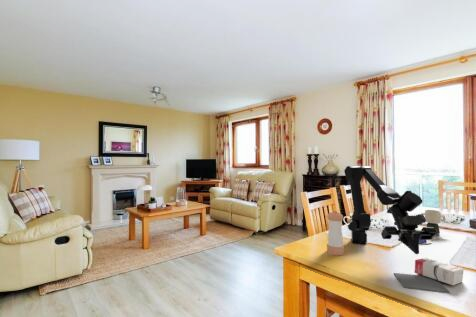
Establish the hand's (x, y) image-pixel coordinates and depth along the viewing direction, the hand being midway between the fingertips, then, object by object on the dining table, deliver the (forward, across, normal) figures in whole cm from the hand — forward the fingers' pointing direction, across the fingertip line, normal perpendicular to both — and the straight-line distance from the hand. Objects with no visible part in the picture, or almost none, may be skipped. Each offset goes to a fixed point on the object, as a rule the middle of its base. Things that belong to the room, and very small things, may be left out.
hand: (417, 253), depth 96 cm
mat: (+10, -3, 0) cm, 11 cm away
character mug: (-32, +38, +43) cm, 65 cm away
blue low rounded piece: (-23, +23, +34) cm, 47 cm away
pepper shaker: (-8, -24, +20) cm, 33 cm away
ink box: (+2, +2, +5) cm, 5 cm away
